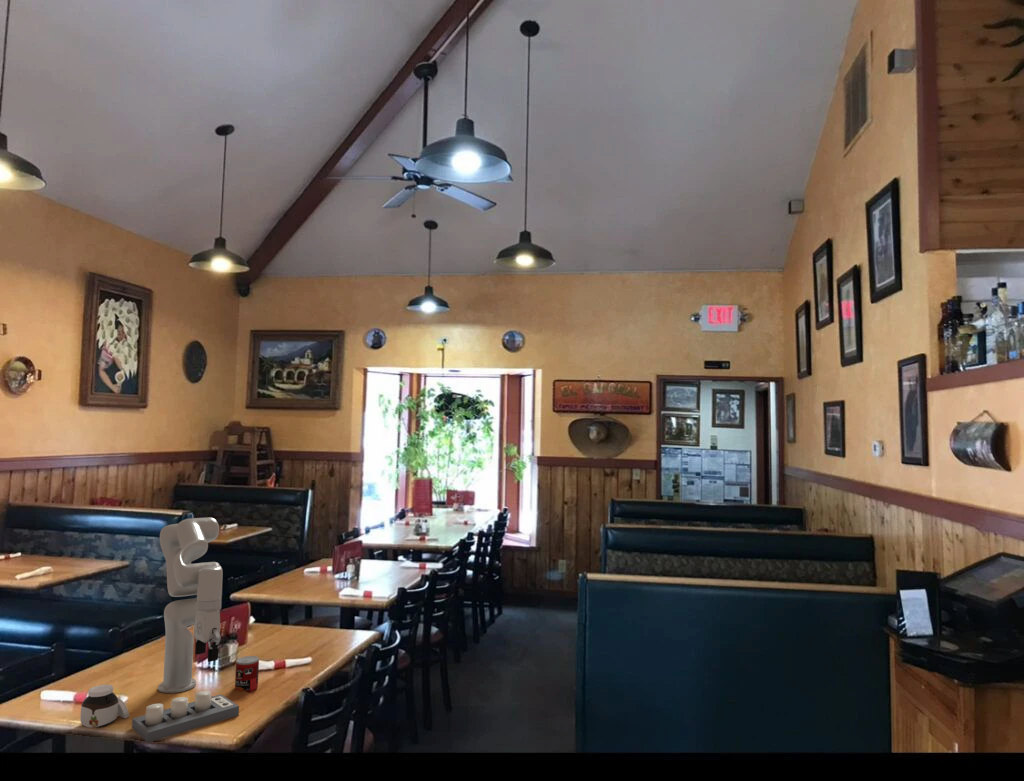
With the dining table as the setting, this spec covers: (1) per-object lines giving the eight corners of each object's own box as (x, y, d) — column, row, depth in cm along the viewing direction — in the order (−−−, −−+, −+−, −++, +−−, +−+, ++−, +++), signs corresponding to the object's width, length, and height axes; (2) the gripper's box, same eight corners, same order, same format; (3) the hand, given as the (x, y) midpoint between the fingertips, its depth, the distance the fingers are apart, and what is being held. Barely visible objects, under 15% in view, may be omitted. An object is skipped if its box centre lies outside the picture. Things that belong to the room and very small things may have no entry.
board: (131, 731, 210) (132, 717, 210) (220, 706, 230) (221, 693, 231) (147, 746, 200) (148, 731, 201) (238, 718, 221) (239, 704, 221)
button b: (168, 715, 214) (169, 699, 214) (183, 711, 217) (184, 695, 217) (173, 720, 210) (174, 704, 211) (189, 715, 214) (190, 700, 214)
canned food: (230, 691, 243) (231, 661, 244) (246, 684, 250) (247, 654, 251) (246, 695, 240) (247, 664, 241) (262, 687, 247) (263, 657, 248)
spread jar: (75, 729, 211) (77, 691, 211) (102, 714, 222) (104, 679, 223) (108, 733, 209) (110, 695, 209) (134, 718, 220) (136, 681, 220)
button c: (142, 722, 208) (143, 706, 208) (159, 718, 212) (160, 702, 212) (148, 727, 205) (149, 711, 205) (164, 723, 208) (165, 706, 209)
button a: (192, 709, 219) (193, 693, 219) (207, 704, 223) (207, 689, 223) (198, 713, 216) (199, 697, 216) (213, 709, 219) (213, 693, 220)
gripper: (187, 601, 224) (184, 653, 223) (208, 611, 213) (205, 666, 212) (209, 598, 230) (207, 648, 229) (231, 607, 218) (229, 660, 217)
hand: (206, 657), depth 220 cm, fingers open, 9 cm apart
